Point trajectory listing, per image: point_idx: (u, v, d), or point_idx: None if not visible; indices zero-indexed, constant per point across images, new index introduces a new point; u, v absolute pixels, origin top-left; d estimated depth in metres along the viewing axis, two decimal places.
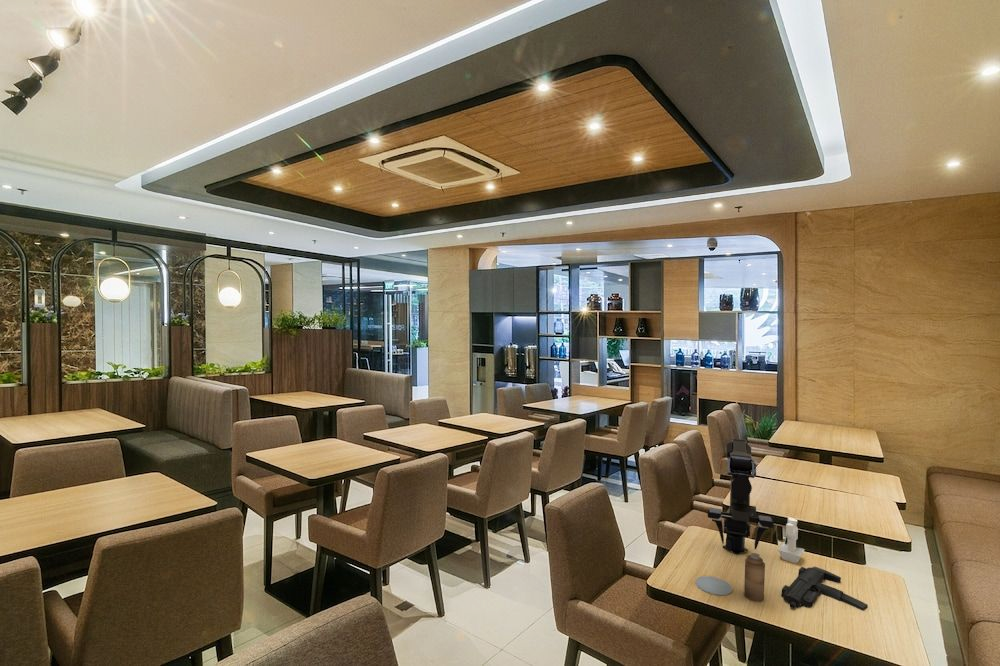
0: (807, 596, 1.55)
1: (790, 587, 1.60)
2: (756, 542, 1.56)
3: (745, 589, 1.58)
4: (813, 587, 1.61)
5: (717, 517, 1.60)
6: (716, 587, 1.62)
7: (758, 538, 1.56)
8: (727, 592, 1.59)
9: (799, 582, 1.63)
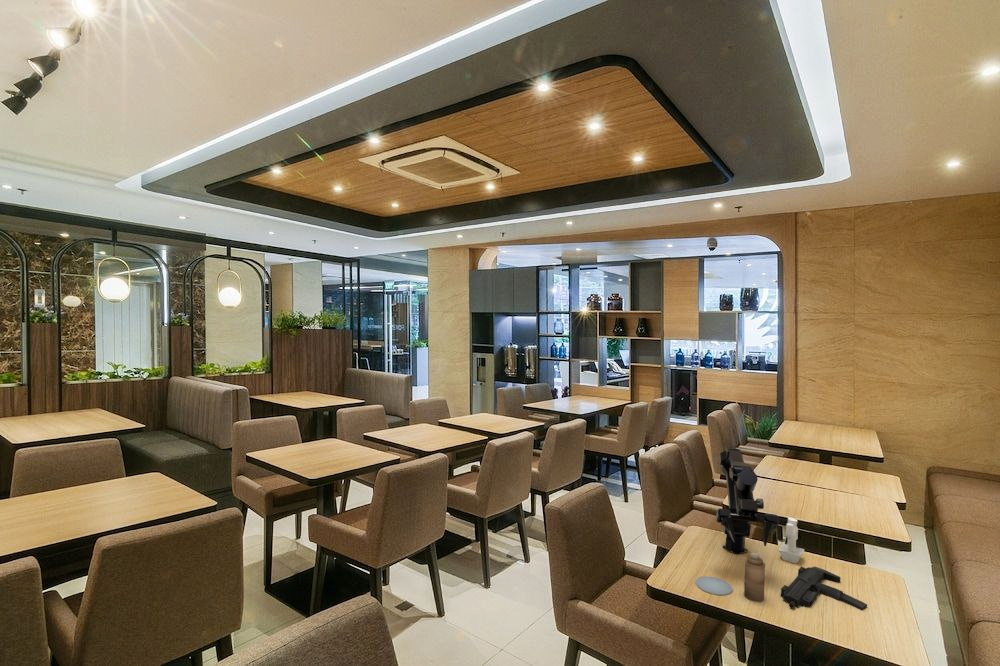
0: (807, 596, 1.55)
1: (789, 587, 1.60)
2: (765, 538, 1.65)
3: (745, 589, 1.58)
4: (812, 587, 1.61)
5: (727, 514, 1.70)
6: (716, 587, 1.62)
7: (767, 534, 1.65)
8: (727, 592, 1.59)
9: (798, 582, 1.63)
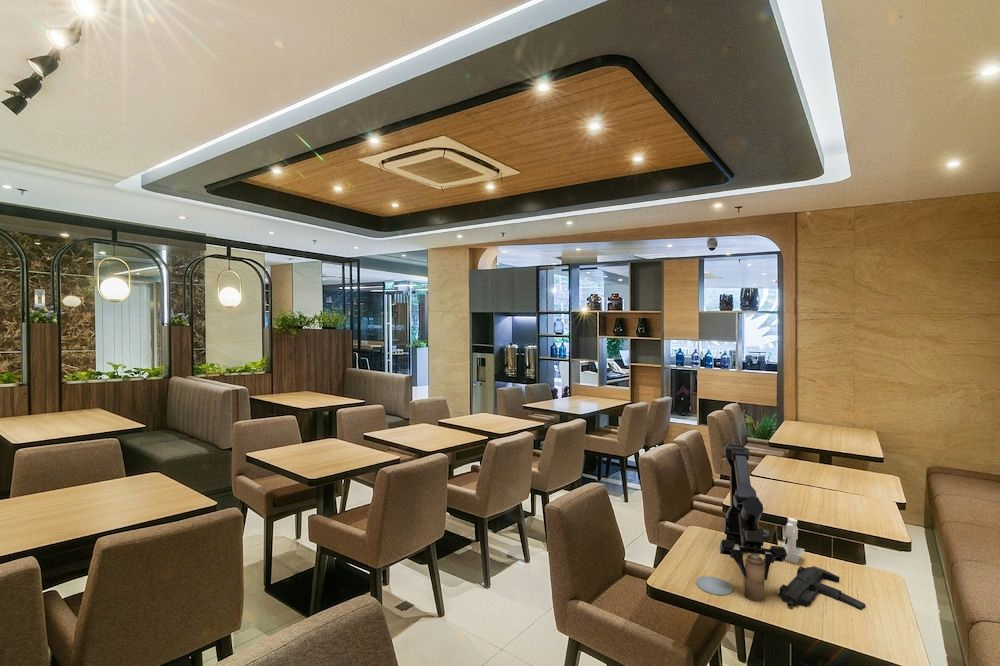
0: (805, 595, 1.55)
1: (788, 586, 1.60)
2: (766, 571, 1.56)
3: (745, 589, 1.58)
4: (811, 586, 1.62)
5: (731, 546, 1.61)
6: (716, 587, 1.62)
7: (767, 567, 1.57)
8: (727, 592, 1.59)
9: (797, 581, 1.63)
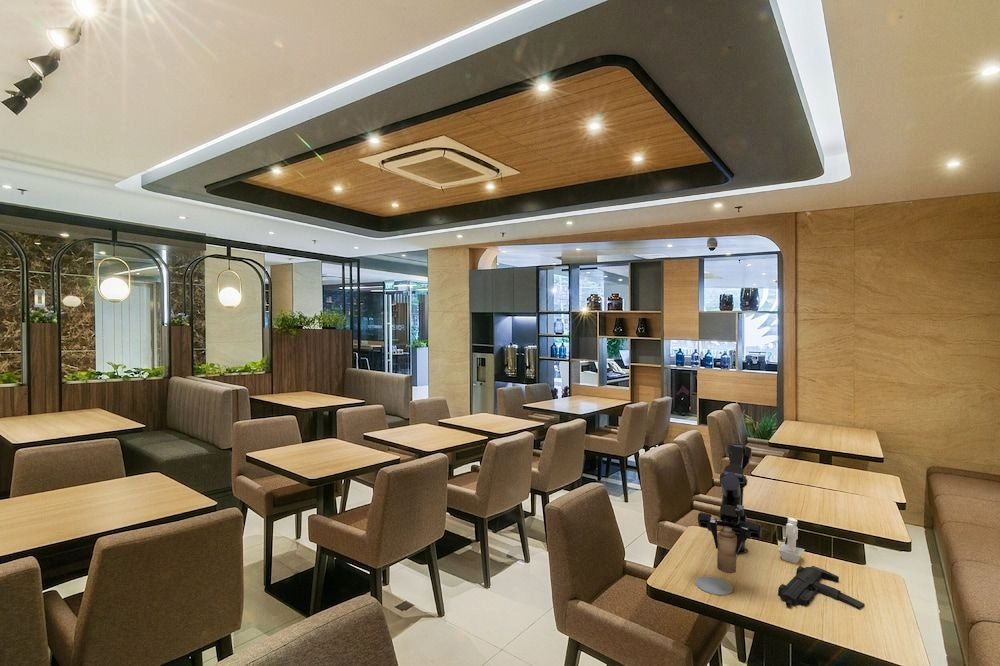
0: (804, 595, 1.55)
1: (787, 586, 1.60)
2: (738, 545, 1.59)
3: (717, 560, 1.62)
4: (810, 586, 1.62)
5: (707, 518, 1.66)
6: (716, 587, 1.62)
7: (740, 541, 1.60)
8: (727, 592, 1.59)
9: (796, 581, 1.63)
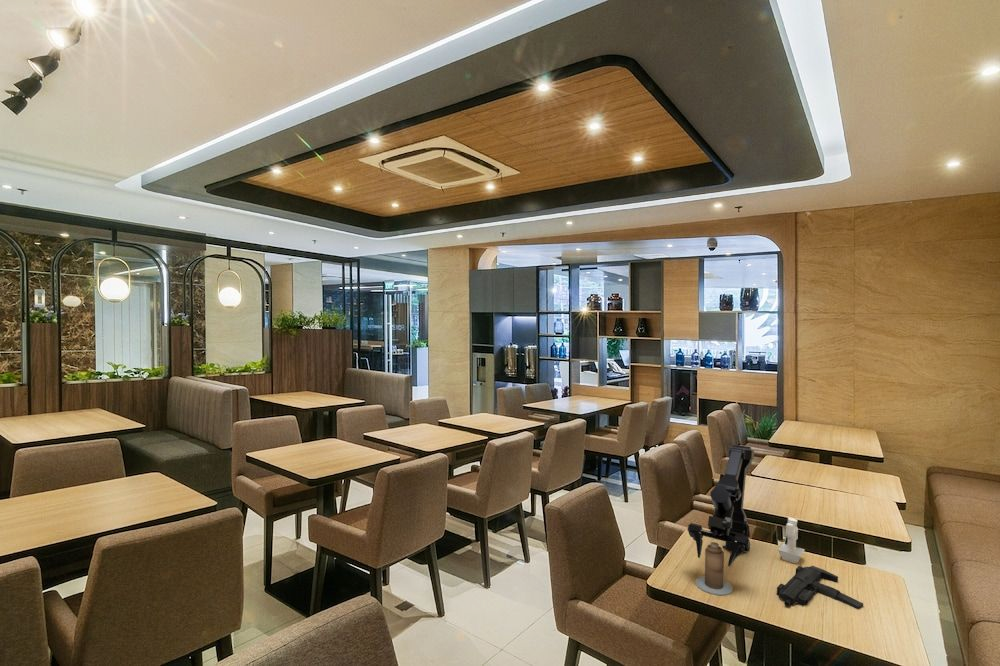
0: (803, 595, 1.56)
1: (786, 585, 1.61)
2: (730, 558, 1.60)
3: None
4: (809, 586, 1.62)
5: (696, 529, 1.69)
6: None
7: (732, 554, 1.61)
8: (727, 592, 1.59)
9: (795, 581, 1.63)
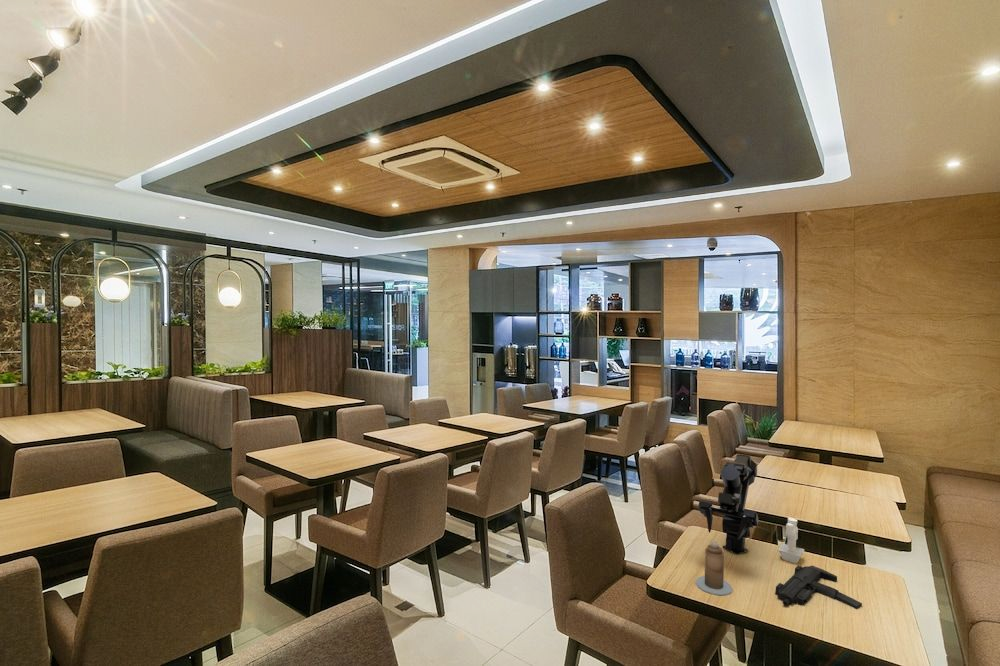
0: (801, 594, 1.56)
1: (784, 585, 1.61)
2: (739, 532, 1.70)
3: None
4: (808, 585, 1.62)
5: (706, 505, 1.78)
6: None
7: (741, 528, 1.70)
8: (727, 592, 1.59)
9: (794, 580, 1.64)
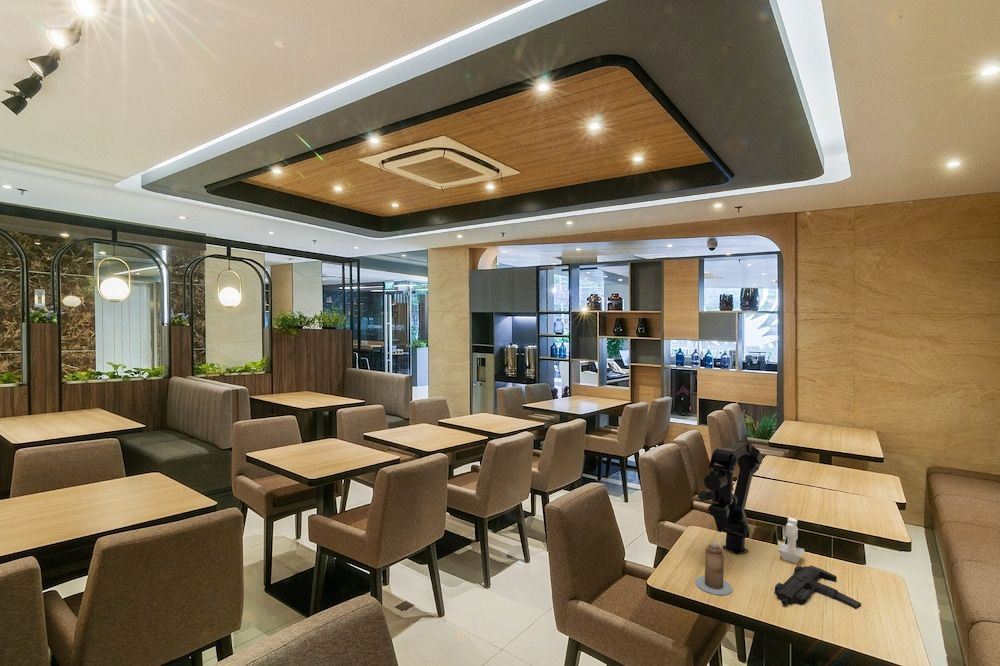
0: (800, 594, 1.56)
1: (784, 585, 1.61)
2: None
3: (705, 576, 1.65)
4: (807, 585, 1.62)
5: None
6: None
7: None
8: (727, 592, 1.59)
9: (793, 580, 1.64)
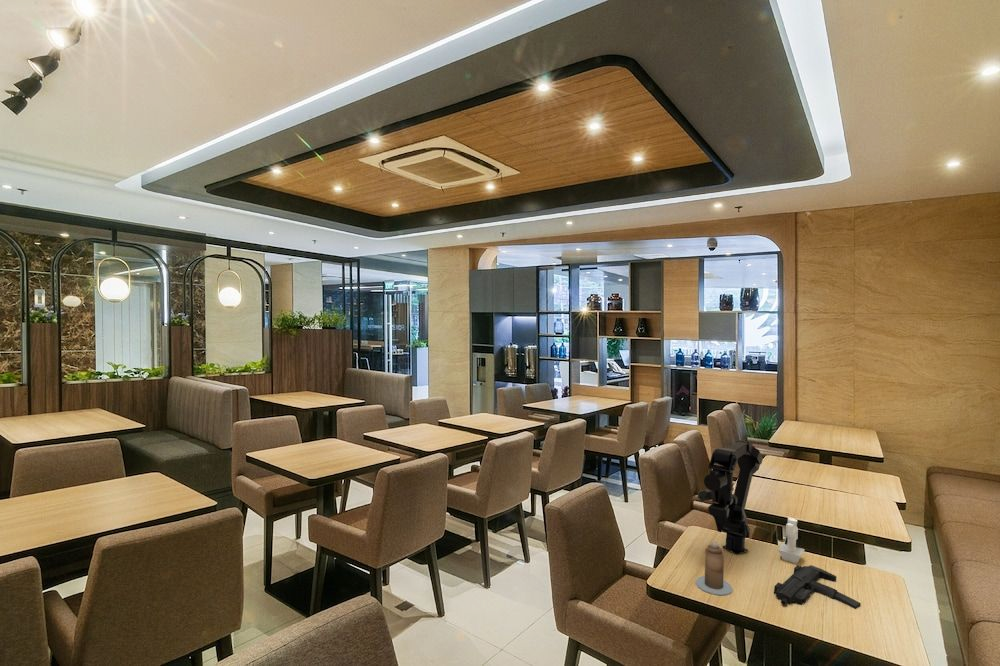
0: (800, 594, 1.56)
1: (783, 584, 1.61)
2: None
3: None
4: (807, 585, 1.62)
5: None
6: None
7: None
8: (727, 592, 1.59)
9: (793, 580, 1.64)
